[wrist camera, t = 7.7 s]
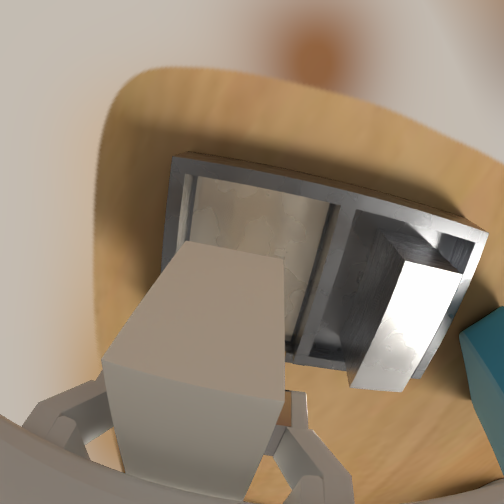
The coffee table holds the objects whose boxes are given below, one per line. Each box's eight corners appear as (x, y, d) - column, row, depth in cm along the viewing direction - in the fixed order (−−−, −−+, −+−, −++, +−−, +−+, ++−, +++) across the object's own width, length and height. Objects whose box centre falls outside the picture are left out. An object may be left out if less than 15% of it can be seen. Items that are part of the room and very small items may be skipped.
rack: (404, 362, 23) (424, 415, 17) (171, 320, 23) (143, 372, 18) (466, 218, 18) (514, 250, 13) (188, 151, 18) (151, 162, 13)
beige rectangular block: (247, 408, 14) (231, 527, 8) (174, 392, 15) (135, 505, 9) (284, 259, 11) (287, 401, 5) (184, 240, 11) (99, 358, 5)
